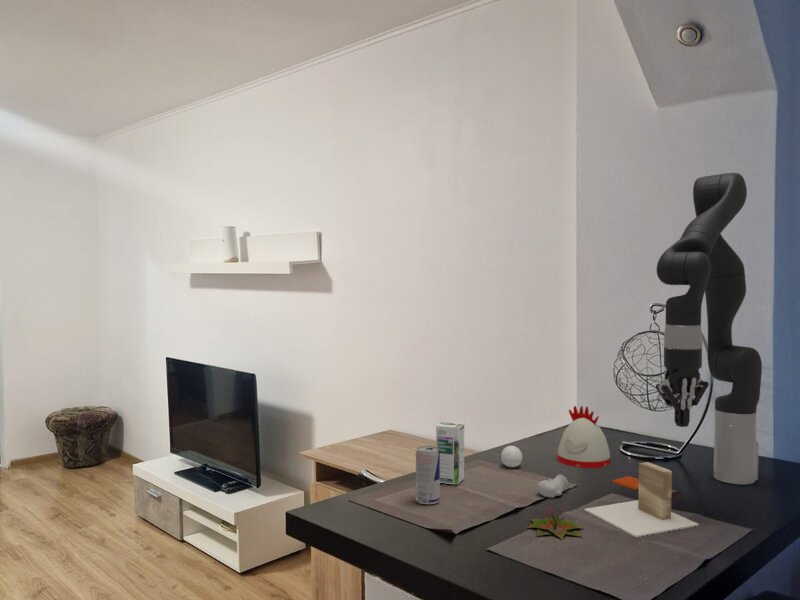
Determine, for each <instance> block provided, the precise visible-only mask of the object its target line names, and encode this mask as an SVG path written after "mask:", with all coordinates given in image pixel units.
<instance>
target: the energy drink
mask: <svg viewBox="0 0 800 600" xmlns="http://www.w3.org/2000/svg"><path fill="white" fill-rule="evenodd" d="M440 487H441V484H440V452H439V448H437V447H436V446H433V445H431V446H430V445H423V446H419V447H417V448H416V450H415V502H417V501H418V502H421V503H428V504H430V503H437V502H438V503H439V502H440V499H441V498H440V497H441V494H440V493H441V488H440ZM438 503H437V504H438Z"/></svg>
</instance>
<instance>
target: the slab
mask: <svg viewBox="0 0 800 600" xmlns="http://www.w3.org/2000/svg"><path fill="white" fill-rule="evenodd" d="M672 472H673V471H672V470H670V469H668V468H666V467H661V466H659V465H657V464H654V463H651V462H648V461H647V462H639V463H638V479H639V488H638V491H637V492H638V495H637V496H638V497H637V499H638V509H639V510H641V511H643V512H645V513H648V514H650V515H652V516H654V517H656V518H658V519H660V520H666V519H671V512H672V498H671V489H673V488H672V485H673V484H672V482H673V481H672V480H673V476H672V474H673V473H672Z"/></svg>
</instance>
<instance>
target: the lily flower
mask: <svg viewBox="0 0 800 600" xmlns="http://www.w3.org/2000/svg"><path fill="white" fill-rule="evenodd" d="M562 508H563V507H562V506H561V507H560V508H559V510H558V512H556V514H554V513H555V508H553V509H554V510H552V509H551V507H549V506H548V508H547V511H548V512H547V511H545V514H544V517H545V518H536V519H535V518H534V519H533V518H530V519H529V520H530V521H531V522H532V524H530V525H529V526H526V528H527V529H530V528H532V529H533V528H537V529H536V537H538V536H539V537H540V536H544V535H545V536H546V535H555V536H557V537H558V538H559V539H560V540H562V539H563V538H564V537H565V535H568V536H569V535H570V536H575V537H581V538H582V537H583V535H581V533H580V532H579V531H578V530H577V529H582V530H583V529H585V528H584V527H582V526H580V525H578V524H576V523H574V520H573V519H570V520H569V519H564V518H565V517H566V516H565V515H563V516H562V514H565V511H568V510H567V508H566V509H564V510H563V511H561V512H560V510H562ZM549 512H550V514H549ZM546 514H547V515H546ZM550 515H551V516H550ZM559 517H561V518H559ZM551 528H553V529H551ZM557 528H560V530H558V531H556V529H557ZM547 531H549V532H547ZM567 532H568V533H567Z"/></svg>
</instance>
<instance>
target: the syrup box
mask: <svg viewBox="0 0 800 600" xmlns="http://www.w3.org/2000/svg"><path fill="white" fill-rule="evenodd" d="M435 428H436V429H435V441H436V442H435V447H437V448H439V452H440V483H446V484H454V485H458V484H459V483H460V482H461V481H462V480H463V479H464V480H465V422H454V421H443V420H442V421H440V422H439V423H438V424H436V427H435ZM464 480H463V481H464ZM463 481H462V482H463ZM462 482H461V483H462ZM461 483H460V484H461ZM446 484H445V485H446ZM460 484H459V485H460ZM454 485H453V486H454ZM459 485H458V486H459Z"/></svg>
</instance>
